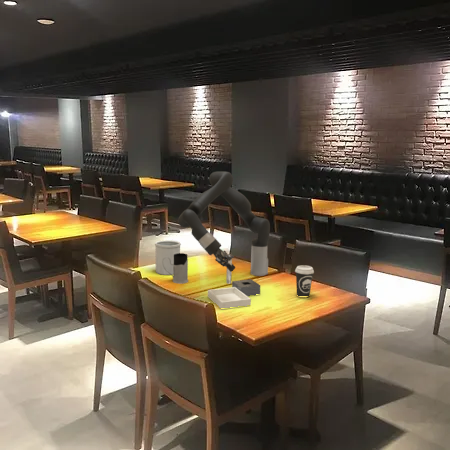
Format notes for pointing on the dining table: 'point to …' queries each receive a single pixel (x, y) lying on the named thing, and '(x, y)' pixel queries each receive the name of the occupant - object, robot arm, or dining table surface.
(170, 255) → the utensil holder
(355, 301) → the dining table surface
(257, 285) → the bracket
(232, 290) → the plastic tray
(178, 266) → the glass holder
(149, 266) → the dining table surface
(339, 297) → the dining table surface
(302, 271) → the coffee cup
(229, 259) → the steel pin
